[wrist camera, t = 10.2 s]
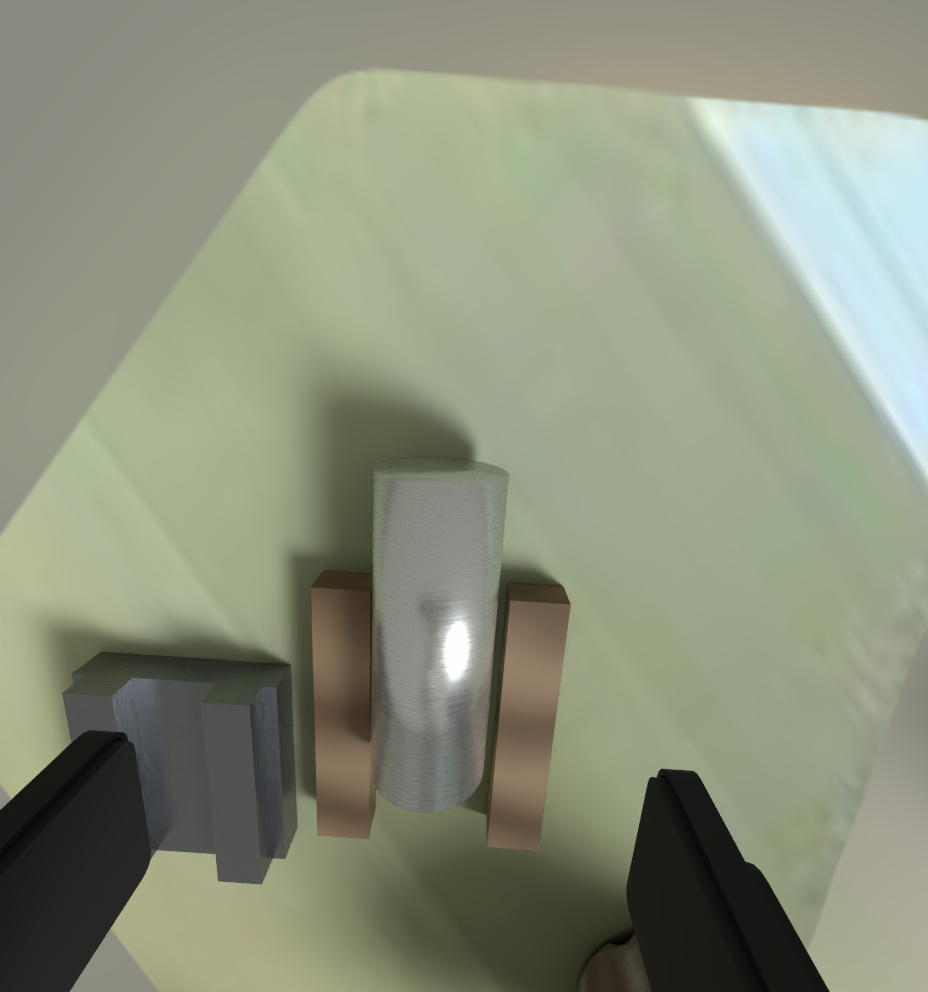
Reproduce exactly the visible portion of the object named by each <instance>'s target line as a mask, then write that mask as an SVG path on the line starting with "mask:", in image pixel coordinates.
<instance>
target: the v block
mask: <svg viewBox="0 0 928 992" xmlns="http://www.w3.org/2000/svg"><path fill="white" fill-rule="evenodd" d="M72 676H73V682H74V685H72V686H71V687H70V688H69V689H67V690H66V691H65V692H63V699H64V704H65V709H66V715H67V720H68V725H69V730H70V736H71V741H72V742H73V741H74V740H75V739H76V738H77V737H79V736H80V735H81V734H83V733H84V732H86V731H89V730H98V731H112V732H124V733H125V734H126V735H127V738H128V741H129V742H132V743H133V744H134V746H135V751H136V757H137V764H138V770H139V776H140V783H141V789H142V795H143V802H144V808H145V814H146V821H147V827H148V833H149V840H150V846H151V858H152V857H153V855H154V854H155V852H156V851H157V850H165V851H179V852H194V853H208V854H216V863H217V873H218V881H222V882H237V883H251V884H262V883H263V880H264V878H265V876H266V873H267V871H268V868H269V866H270V864H271V861H272V859H273V858H279V859H285V858H286V856H287V853H288V850H289V848H290V845H291V843H292V840H293V837H294V835H295V832H296V830H297V809H296V785H295V761H294V737H293V713H292V689H291V665H284V664H270V663H255V662H240V661H225V660H210V659H195V658H180V657H165V656H150V655H135V654H120V653H105V652H100V653H99V654H97V655H96V656H95V657H94V658H92V659H91V660H90V661H88V662H87V663H86V664H84V665H83V666H82V667H80V668H79V669H78V670H76V671H75V672H74V673H72ZM150 860H151V859H150Z"/></svg>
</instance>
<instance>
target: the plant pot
mask: <svg viewBox="0 0 928 992" xmlns="http://www.w3.org/2000/svg"><path fill="white" fill-rule="evenodd" d="M578 992H651V988H650V985H649V981H648V977H647V974H646V970H645V967H644V963H643V959H642V956H641V952H640V949H639V945H638V942H637V938H636V934H635V932H634V933H633V934H632V936H631V938H630V939H629V941H628V942H627V943H625V944H622V945H613V944H611V943H608V944H606V945H605V946H604V947H602V948H601V949H600V950H599V951H598V952H597V953H596V954H595V955H594V956H593V957H592V958H591V959H590V960H589V962H588V963H587V965H586V966H585V968H584V970H583V972H582V974H581V977H580V980H579V985H578Z"/></svg>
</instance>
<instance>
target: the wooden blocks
mask: <svg viewBox="0 0 928 992" xmlns="http://www.w3.org/2000/svg"><path fill="white" fill-rule="evenodd" d="M570 605H571V604H570V602H569V599H568V597H567V594H566V592H565V589H564V587H561V586H546V585H531V584H515V583H508V587H507V598H506V609H505V620H504V631H503V641H502V652H501V663H500V674H499V685H498V696H497V707H496V718H495V728H494V739H493V750H492V761H491V772H490V783H489V794H488V805H487V816H486V818H487V847H492V848H506V849H521V850H535V851H538V849H539V841H540V833H541V826H542V818H543V811H544V803H545V795H546V788H547V780H548V773H549V765H550V757H551V750H552V742H553V734H554V727H555V719H556V712H557V704H558V696H559V689H560V681H561V674H562V666H563V658H564V651H565V643H566V636H567V628H568V620H569V613H570ZM311 608H312V645H313V682H314V719H315V756H316V792H317V829H318V835H319V836H334V837H348V838H363V839H369V834H370V830H371V825H372V821H373V817H374V812H375V798H376V786H375V784H374V781H373V779H372V774H371V687H372V574H363V573H347V572H332V571H323V572H322V573H321V575H320V576H319V577H318V579H317V580H316V581H315V583H314V584H313V585H312V587H311Z"/></svg>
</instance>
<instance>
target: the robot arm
mask: <svg viewBox="0 0 928 992" xmlns="http://www.w3.org/2000/svg"><path fill="white" fill-rule="evenodd" d="M150 859H151V846H150V840H149V833H148V827H147V821H146V814H145V808H144V802H143V795H142V789H141V783H140V776H139V770H138V764H137V757H136V751H135V746H134V744H133V743H132V742H129V741H128V738H127V735H126V734H125V733H124V732H112V731H98V730H89V731H86V732H84V733H83V734H81V735H80V736H79V737H77V738H76V739H75V740H74V741H73V742H72V743H71V744H70V745H69V746H68V747H67V748H66V749H65V750H64V751H63V752H61V753H60V754H59V755H58V756H57V757H56V758H55V759H54V760H53V761H52V762H51V763H50V764H49V765H48V766H47V767H46V768H44V769H43V770H42V771H41V772H40V773H39V774H38V775H37V776H36V777H35V778H34V779H33V780H32V781H31V782H30V783H29V784H28V785H26V786H25V787H24V788H23V789H22V790H21V791H20V792H19V793H18V794H17V795H16V796H15V797H14V798H13V799H12V800H11V801H9V803H7V804H6V805H5V806H4V807H3V808H2V809H1V810H0V992H70V990H71V989H72V987H73V986H74V984H75V982H76V981H77V979H78V978H79V976H80V975H81V973H82V971H83V970H84V968H85V967H86V965H87V964H88V962H89V961H90V959H91V958H92V956H93V954H94V953H95V951H96V950H97V948H98V947H99V945H100V944H101V942H102V941H103V939H104V937H105V936H106V934H107V933H108V931H109V930H110V928H111V927H112V925H113V924H114V922H115V920H116V919H117V917H118V916H119V914H120V913H121V911H122V910H123V908H124V907H125V905H126V903H127V902H128V900H129V899H130V897H131V896H132V894H133V893H134V891H135V889H136V888H137V886H138V885H139V883H140V882H141V880H142V879H143V877H144V875H145V873H146V871H147V869H148V866H149V863H150ZM627 903H628V908H629V913H630V916H631V920H632V924H633V927H634V931H635V934H636V938H637V942H638V945H639V949H640V952H641V956H642V959H643V963H644V967H645V970H646V974H647V977H648V981H649V985H650V988H651V992H829V990H828V988H827V986H826V985H825V983H824V981H823V979H822V977H821V976H820V974H819V972H818V970H817V969H816V967H815V965H814V963H813V961H812V960H811V958H810V956H809V954H808V952H807V951H806V949H805V947H804V945H803V943H802V942H801V940H800V938H799V936H798V935H797V933H796V931H795V929H794V927H793V926H792V924H791V922H790V920H789V919H788V917H787V915H786V913H785V911H784V910H783V908H782V906H781V904H780V903H779V901H778V899H777V897H776V895H775V894H774V892H773V890H772V888H771V886H770V885H769V883H768V881H767V880H766V878H765V877H764V875H763V874H762V872H761V871H760V870H759V869H758V868H757V867H756V866H755V865H754V864H752V863H749V862H745V860H744V858H743V857H742V855H741V853H740V851H739V849H738V847H737V845H736V844H735V842H734V840H733V838H732V836H731V834H730V832H729V831H728V829H727V827H726V825H725V823H724V821H723V820H722V818H721V816H720V814H719V812H718V810H717V808H716V807H715V805H714V803H713V801H712V799H711V797H710V795H709V794H708V792H707V790H706V788H705V786H704V784H703V782H702V781H701V779H700V777H699V776H698V774H697V773H695V772H694V771H686V770H671V769H661V770H660V771H659V772H658V775H657V778H655V777H651V778H650V779H649V781H648V785H647V790H646V794H645V799H644V804H643V809H642V814H641V819H640V823H639V828H638V833H637V838H636V843H635V847H634V852H633V857H632V862H631V867H630V872H629V876H628V881H627Z"/></svg>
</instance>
